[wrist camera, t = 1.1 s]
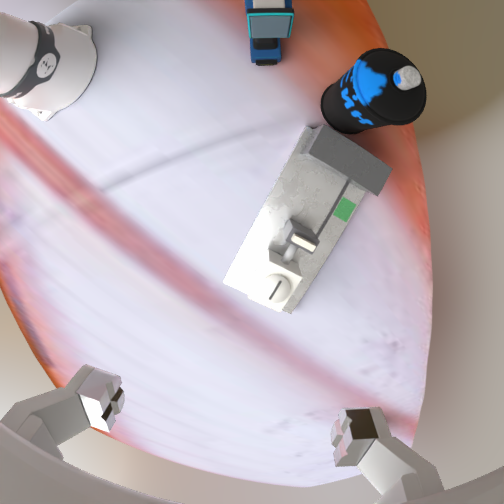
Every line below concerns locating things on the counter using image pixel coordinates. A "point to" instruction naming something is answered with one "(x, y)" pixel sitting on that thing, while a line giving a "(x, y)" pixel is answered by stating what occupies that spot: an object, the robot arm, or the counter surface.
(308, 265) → the base
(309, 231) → the block
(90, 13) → the counter surface
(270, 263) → the gauge body
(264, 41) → the handheld scanner
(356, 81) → the black water bottle
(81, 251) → the counter surface
